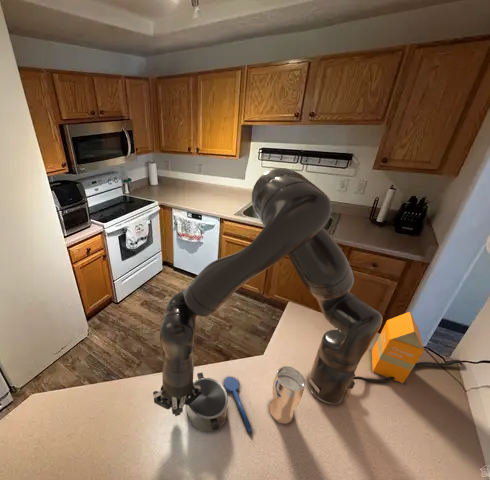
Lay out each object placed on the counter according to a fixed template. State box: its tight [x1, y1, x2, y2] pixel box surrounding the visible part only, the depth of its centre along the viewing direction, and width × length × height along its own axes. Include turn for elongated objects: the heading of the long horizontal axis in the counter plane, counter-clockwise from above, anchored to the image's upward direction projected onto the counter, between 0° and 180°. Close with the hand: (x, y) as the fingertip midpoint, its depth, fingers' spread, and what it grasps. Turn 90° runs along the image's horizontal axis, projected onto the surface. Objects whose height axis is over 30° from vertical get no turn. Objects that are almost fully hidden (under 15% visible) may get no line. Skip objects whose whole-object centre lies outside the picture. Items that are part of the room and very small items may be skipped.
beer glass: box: [269, 365, 306, 424], centre depth 68 cm, size 7×7×15 cm
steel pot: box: [186, 372, 229, 432], centre depth 71 cm, size 11×15×6 cm
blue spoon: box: [223, 376, 253, 433], centre depth 73 cm, size 4×15×1 cm, turn 12°
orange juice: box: [371, 311, 425, 384], centre depth 77 cm, size 8×9×20 cm
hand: (177, 411), depth 70 cm, fingers closed
